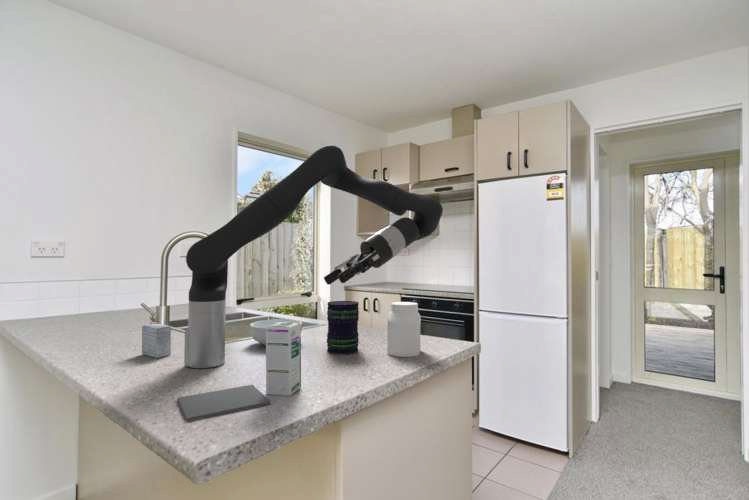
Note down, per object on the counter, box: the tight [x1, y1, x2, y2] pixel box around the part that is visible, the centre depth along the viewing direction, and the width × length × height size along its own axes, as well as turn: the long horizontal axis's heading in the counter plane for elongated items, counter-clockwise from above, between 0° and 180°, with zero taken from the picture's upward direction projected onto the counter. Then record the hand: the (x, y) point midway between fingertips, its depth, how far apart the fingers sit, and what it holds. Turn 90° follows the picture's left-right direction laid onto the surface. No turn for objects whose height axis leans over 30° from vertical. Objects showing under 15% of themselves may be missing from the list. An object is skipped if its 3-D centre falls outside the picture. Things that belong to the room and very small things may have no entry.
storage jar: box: [326, 300, 360, 356], centre depth 122 cm, size 10×10×15 cm
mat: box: [177, 384, 271, 422], centre depth 78 cm, size 15×12×1 cm
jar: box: [386, 301, 422, 358], centre depth 121 cm, size 12×10×15 cm
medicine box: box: [141, 323, 172, 359], centre depth 115 cm, size 8×4×9 cm, turn 58°
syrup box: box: [265, 322, 302, 397], centre depth 85 cm, size 6×6×14 cm
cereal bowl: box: [249, 318, 303, 346], centre depth 130 cm, size 17×17×7 cm
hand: (332, 280), depth 91 cm, fingers open, 8 cm apart
